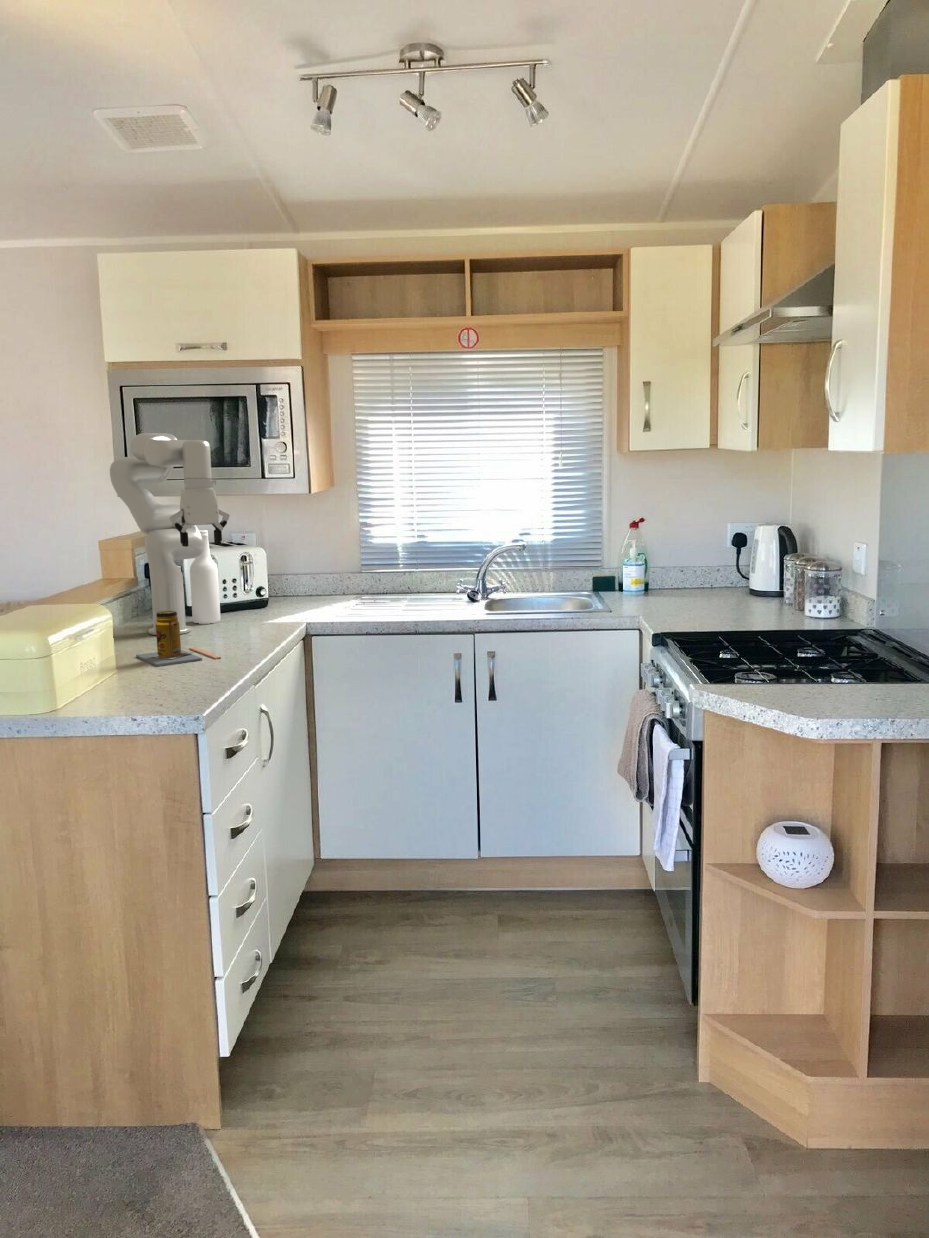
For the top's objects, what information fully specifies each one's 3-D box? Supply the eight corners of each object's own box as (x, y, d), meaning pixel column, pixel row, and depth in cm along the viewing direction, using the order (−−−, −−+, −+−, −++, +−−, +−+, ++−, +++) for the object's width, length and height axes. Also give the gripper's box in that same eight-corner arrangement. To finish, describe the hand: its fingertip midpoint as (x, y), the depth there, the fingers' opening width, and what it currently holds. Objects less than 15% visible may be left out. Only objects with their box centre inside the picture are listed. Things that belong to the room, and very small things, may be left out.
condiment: (150, 657, 254) (147, 613, 252) (173, 651, 261) (170, 608, 259) (171, 659, 251) (168, 614, 249) (193, 653, 258) (191, 610, 256)
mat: (136, 656, 258) (136, 654, 258) (179, 651, 265) (179, 649, 265) (157, 666, 246) (157, 664, 245) (202, 660, 253) (201, 658, 253)
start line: (189, 649, 268) (189, 647, 268) (194, 648, 269) (194, 647, 269) (215, 659, 254) (215, 657, 254) (220, 658, 255) (220, 656, 255)
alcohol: (210, 625, 307) (205, 531, 302) (187, 623, 310) (181, 531, 305) (226, 620, 315) (221, 529, 310) (203, 619, 318) (197, 529, 313)
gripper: (221, 483, 278) (224, 542, 281) (163, 485, 268) (167, 546, 270) (232, 484, 272) (235, 544, 275) (173, 485, 262) (177, 548, 265)
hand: (201, 545), depth 273 cm, fingers open, 9 cm apart
